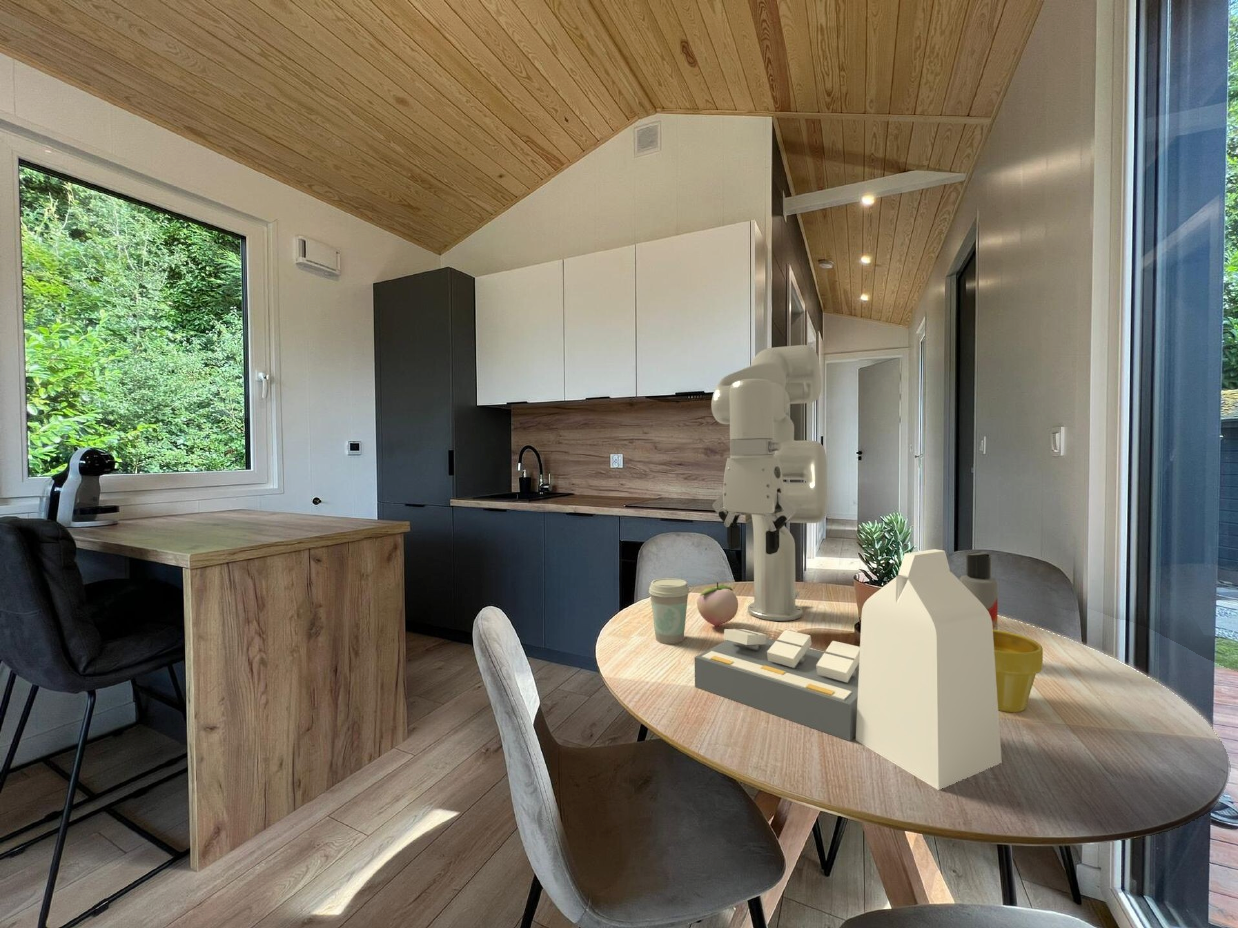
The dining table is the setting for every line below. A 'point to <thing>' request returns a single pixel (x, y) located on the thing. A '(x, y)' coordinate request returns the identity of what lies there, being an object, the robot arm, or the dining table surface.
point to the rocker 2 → (789, 648)
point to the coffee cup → (669, 609)
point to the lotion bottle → (982, 583)
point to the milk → (928, 674)
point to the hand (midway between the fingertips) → (752, 549)
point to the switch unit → (780, 686)
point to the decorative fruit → (717, 605)
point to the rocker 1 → (744, 636)
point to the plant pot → (1015, 669)
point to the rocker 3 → (839, 661)
